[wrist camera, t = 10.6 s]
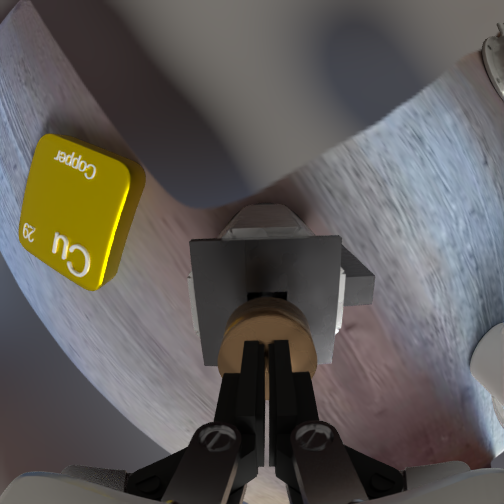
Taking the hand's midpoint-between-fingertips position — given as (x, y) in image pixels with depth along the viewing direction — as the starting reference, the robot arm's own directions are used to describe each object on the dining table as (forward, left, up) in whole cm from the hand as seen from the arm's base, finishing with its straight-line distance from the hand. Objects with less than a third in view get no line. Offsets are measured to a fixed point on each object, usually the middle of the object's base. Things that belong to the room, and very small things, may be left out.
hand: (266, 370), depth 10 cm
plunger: (0, 0, -15) cm, 15 cm away
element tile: (-6, -22, -21) cm, 31 cm away
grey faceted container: (0, +1, -20) cm, 20 cm away
